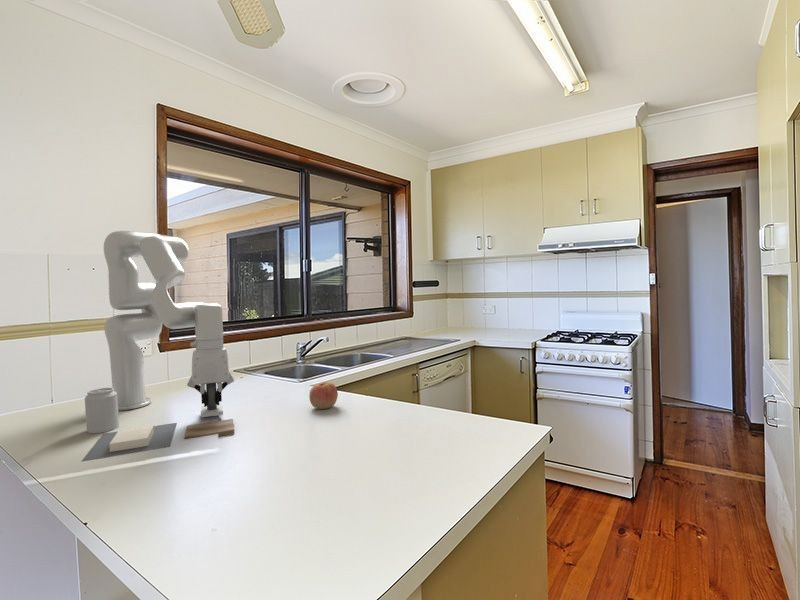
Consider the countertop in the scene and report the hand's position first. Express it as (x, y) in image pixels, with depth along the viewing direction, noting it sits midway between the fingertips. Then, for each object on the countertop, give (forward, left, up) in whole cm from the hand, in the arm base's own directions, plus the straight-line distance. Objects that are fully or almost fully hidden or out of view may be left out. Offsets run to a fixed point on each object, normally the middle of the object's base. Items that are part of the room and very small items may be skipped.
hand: (211, 404), depth 127 cm
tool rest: (+13, 0, -4) cm, 13 cm away
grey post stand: (0, 0, -2) cm, 2 cm away
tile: (+9, -18, -2) cm, 21 cm away
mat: (+12, -18, -4) cm, 22 cm away
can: (-3, -28, -5) cm, 29 cm away
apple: (+7, +33, -5) cm, 34 cm away
